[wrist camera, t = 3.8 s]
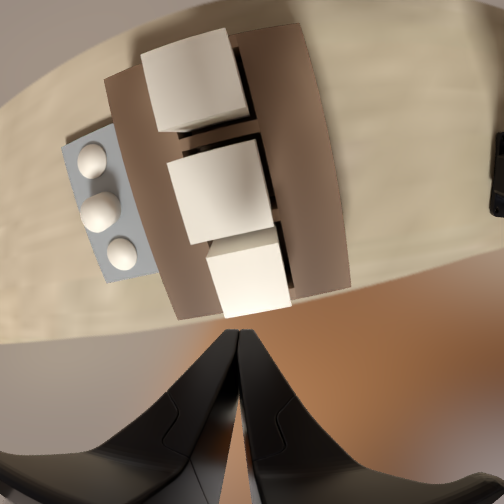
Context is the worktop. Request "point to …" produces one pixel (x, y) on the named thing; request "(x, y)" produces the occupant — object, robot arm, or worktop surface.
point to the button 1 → (194, 83)
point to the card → (126, 197)
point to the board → (273, 162)
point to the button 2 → (249, 272)
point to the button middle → (222, 192)
